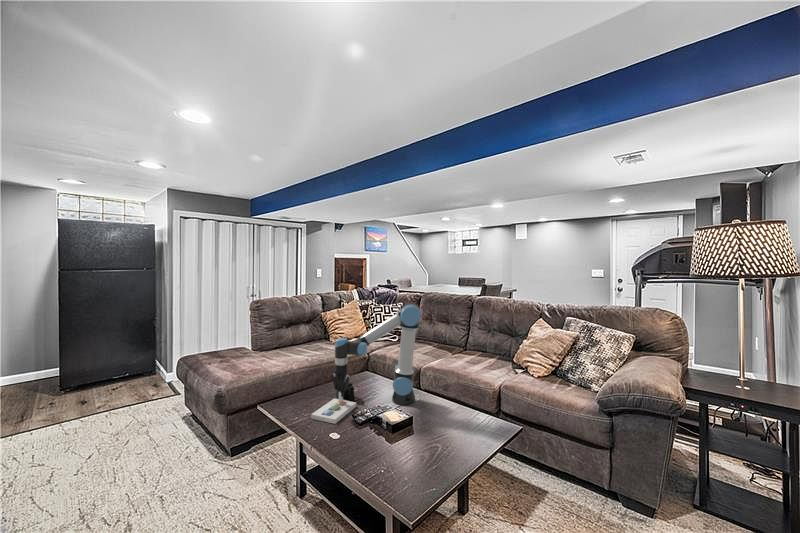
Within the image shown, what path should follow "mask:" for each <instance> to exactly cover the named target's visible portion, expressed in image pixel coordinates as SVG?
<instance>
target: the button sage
mask: <svg viewBox="0 0 800 533" xmlns="http://www.w3.org/2000/svg"><path fill="white" fill-rule="evenodd" d="M338 409H339V404H338V403H333V404H331V410H333V411H337V410H338Z"/></svg>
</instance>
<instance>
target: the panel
mask: <svg viewBox="0 0 800 533" xmlns="http://www.w3.org/2000/svg"><path fill="white" fill-rule="evenodd" d="M338 401H339V399H337V398H333V399H331V400H330V401H328V402H327V403H325V404H324V405H323V406H321V407H320V408H319V409H317V410H316V411H313V412H312V413H311V415H310V417H311V418H310V419H312V420H316V421H320V422H325V423H329V424H337V423H338V422H339V421H340V420H342V419H343V418H344V417H345V416H346V415H348V414H349V413H350V412H352V411H353V410H354V409H355V408H357V402H354V401H353V402H351V401H349V400H345V399H343V401H345V405H344V406H339V409H338V410H337V411H333V410H332V415H331V416H326V415H324V411H325V410H331V404H333V403H337V402H338Z"/></svg>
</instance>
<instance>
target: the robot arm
mask: <svg viewBox="0 0 800 533" xmlns="http://www.w3.org/2000/svg"><path fill="white" fill-rule="evenodd" d="M421 317H422V316H421V309H420V307H419V306H418V305H417V304H416V303H413V302H409V303H408V302H407V303H406V304H405V305H404V306H402V307H401V308H400V309H398V310H397V311H396V313H395V314H394V315H391V317H389V318H386V319H385V321H383V322H381V323H379V324H378V325H377V326H375V327H373V328H371V329H370V330H369V331H367V332H366V333H364V334H363V335H361V336H359V337H357V338H356V340H354V341H353V342H352V341H348V338H345V337H339V338H337V339H336V340H335V343H334V353H335V355H334V373H331V375H330V376H331V378H332V381H333V387H334V390H335V391H338V396H339V403H341V402H342V401H343V400H344V399H343V397H344V392H345V391H346V390H347V388H348V384H349V383H350V379H351V378H352V376H351V375H349V374H348V356H349V355H350V356H351V355H352V356H366V355H367V353H368V346H371V345H372V343H374V342H376V341H377V340H379V339H381V338H383V337H384V336H385V335H387V334H388V333H390V332H392V331H394V330H395V329H396V328H398V327H400V328H401V333H400V334H401V335H400V344H399V353H398V361H397V365H395V367H394V375H393V382H392V389H393V393H392V396H391V401H392V403H394V404H396V405H398V406H399V405H400V406H409V405H413V404H414V403H415V402H416V394H415V391H414V388H413V387H414V384H413V383H414V382H413V381H414V375H415V374H414V373H415V372H414V367H413V360H414V352H415V351H414V350H415V342H416V334H417V331H418V330H419V328H420V320H421Z"/></svg>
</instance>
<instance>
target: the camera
mask: <svg viewBox="0 0 800 533" xmlns="http://www.w3.org/2000/svg"><path fill="white" fill-rule="evenodd" d="M354 390H355V388H354V385H353V383H352V382H349V384H348V388H347V390H346V391H345V392H344V397H343V400H346V401H351V402H354V401H355V391H354ZM335 397H336V398H335V399H339V396H338V391H337V390H335Z"/></svg>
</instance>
